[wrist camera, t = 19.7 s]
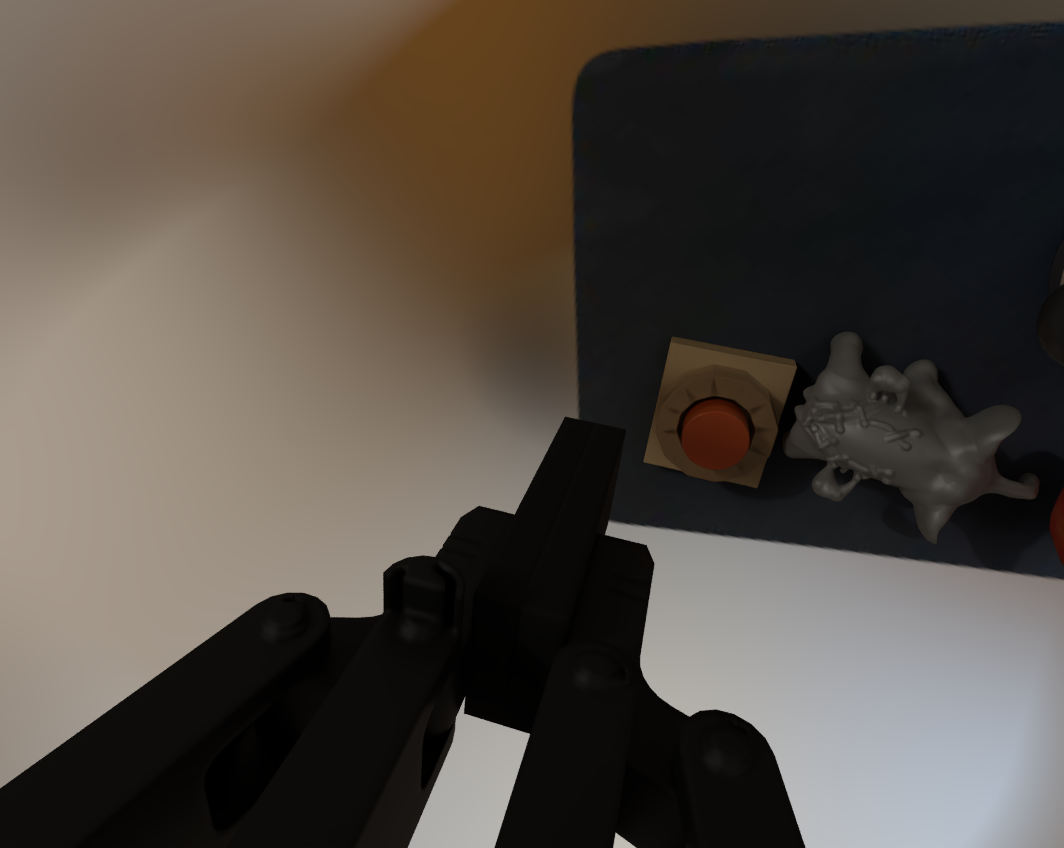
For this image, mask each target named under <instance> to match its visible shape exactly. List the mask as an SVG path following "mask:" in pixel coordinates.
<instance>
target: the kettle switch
mask: <svg viewBox="0 0 1064 848" xmlns="http://www.w3.org/2000/svg"><path fill="white" fill-rule="evenodd" d="M1037 334H1038V338H1039V341H1040V343H1041V346H1042V347H1043V349H1044V350H1045V352H1046V353H1047V354H1048V355H1049V356H1050V357H1051V358H1052V359H1053V360H1054V361H1056V362H1057V363H1059V364H1061V365H1062V366H1064V284H1063V285H1061V286H1060V287H1059V288H1057V289H1056V290H1055V291H1054V292H1053V293H1052V294H1051V295H1050V296H1049V297H1048V299H1047V300H1046V301H1045V303H1044V304H1043V306H1042V308H1041V310H1040V312H1039V315H1038V319H1037Z"/></svg>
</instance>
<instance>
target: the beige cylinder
mask: <svg viewBox="0 0 1064 848" xmlns="http://www.w3.org/2000/svg"><path fill="white" fill-rule="evenodd" d="M1063 284H1064V240H1063V241H1062V243H1061V245H1060V247H1059V249H1058V251H1057V254H1056V256H1055V259H1054V261H1053V265H1052V268H1051V272H1050V278H1049V287H1048V290H1049V296H1050V295H1051V294H1052V293H1053V292H1054V291H1055V290H1056V289H1057V288H1059V287H1060V286H1061V285H1063Z"/></svg>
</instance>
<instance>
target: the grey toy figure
mask: <svg viewBox="0 0 1064 848" xmlns="http://www.w3.org/2000/svg"><path fill="white" fill-rule="evenodd" d="M830 347H831V355H830V358H829V362H828V364H827V367H826V369H825V370H824V371H822V372H821V374H820V375H819V376H818V378H817V381H816V384H815V385H813V386H810V387H808V388H806V389H805V390H804V391H803V395H804V398H805V399H806V403H805V405H798V406H796V407H795V414H796V418H797V420H796V422H795V424H794V425H793V427H792V429H791V430H788V431H786V432H785V433H784V435H783V437H782V445H783V450H784V452H785V454H786V455H787V456H788V457H790V458H810V459H820V460H825V461H827V466H826V467H825V468H824V469H823V470H821V471H820V472H819V473H818V474H817V475H816V476H815V478H814V480H813V482H812V488H813V490H814V492H815V493H816V494H818V495H820V496H822V497H825V498H828V499H831V500H833V501H841V500H842V499H843V498H844V497H845V496H846V495H847V494H848V493H849V492H851V490H852V489H853V488H854V487H855V485H856V484H857V483H858V482H859V481H860V480H861V479H869V478H874V479H877V480H880V481H882V482H883V483H884V484H888V485H891V486H895V487H898V488H899V490H900V492H901V493H902V494H903V495H904V497H905V498H907V499H908V500H909V501H910V502H912V504H913V506H914V510H915V517H916V521H917V525H918V527H919V529H920V531H921V533H922V534H923V536H924V537H925V538H926V539H927V540H928V541H930V542H931V543H934V544H936V543H937V535H938V532H939V530H940V529H941V528H942V527H943V526H944V525H945V524H946V523H947V522H948V520H949V519H950V517H951V516H952V514H953V512H954V511H955V509H956V508H957V507H959V506H960V505H963V504H966V503H969V502H971V501H973V500H975V499H977V498H978V497H979V496H981V495H983V494H986V493H997V494H1002V495H1005V496H1008V497H1012V498H1022V499H1035V498H1036V496H1037V494H1038V492H1039V485H1040V481H1039V479H1038V477H1037V476H1035V475H1034V474H1032V473H1025V474H1023V475H1021V477H1020V479H1019V482H1015V481H1011V480H1008V479H1006V478H1004V477H1002V476H1001V475H1000V474H999V472H998V470H997V467H996V462H995V457H994V454H995V453H996V451H997V449H998V446H999V444H1000V442H1001V441H1002V440H1003V439H1005V438H1006V437H1007V436H1009V435H1010V434H1011V433H1013V432H1014V431H1015V430H1016V429H1017V427H1018V426H1019V424H1020V423H1021V414H1020V412H1019V411H1018V410H1017V409H1016V408H1014V407H1011V406H1008V405H996V406H992V407H989V408H987V409H984V410H982V411H980V412H979V413H977V414H975V415H973V416H970V417H968V418H965V416H964V415H963V413H962V412H961V411H960V410H959V409H958V408H957V407H956V406H955V404H954V403H953V401H952V400H951V398H950V397H949V395H948V394H947V393H946V392H945V391H944V390H943V389H942V388H941V386H940V385H939V383H938V370H937V367H936V365H935V364H934V363H933V362H932V361H930V360H925V359H923V360H918V361H916V362H913V363H912V364H910V365H909V366H908V367H907V368H906V369H905V371H904V374H901V373H900V372H899V371H898V370H896V369H895V368H894V367H892V366H888V365H885V366H880V367H878V368H876V369H875V371H874V372H873V374H872V376H871V378H870V377H869V376H868V375H867V373H866V372H865V371H864V369H863V367H862V363H861V354H862V351H863V343H862V340H861V338H860V337H859V336H858V335H857V334H856V333H853V332H843V333H840V334H838V335H836V336H835V337H834V338H833V339H832V341H831V344H830ZM887 391H889V392H887ZM838 466H839V467H841V468H840V471H841V472H842V473H845V472H846V471H847V470H849V469H852V470H853V471H854V475H853V478H852V480H851V481H850V482H848V483H846V484H845V485H839V484H838V483H837V481H836V480H835V475H834V469H836V468H837V467H838Z"/></svg>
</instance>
